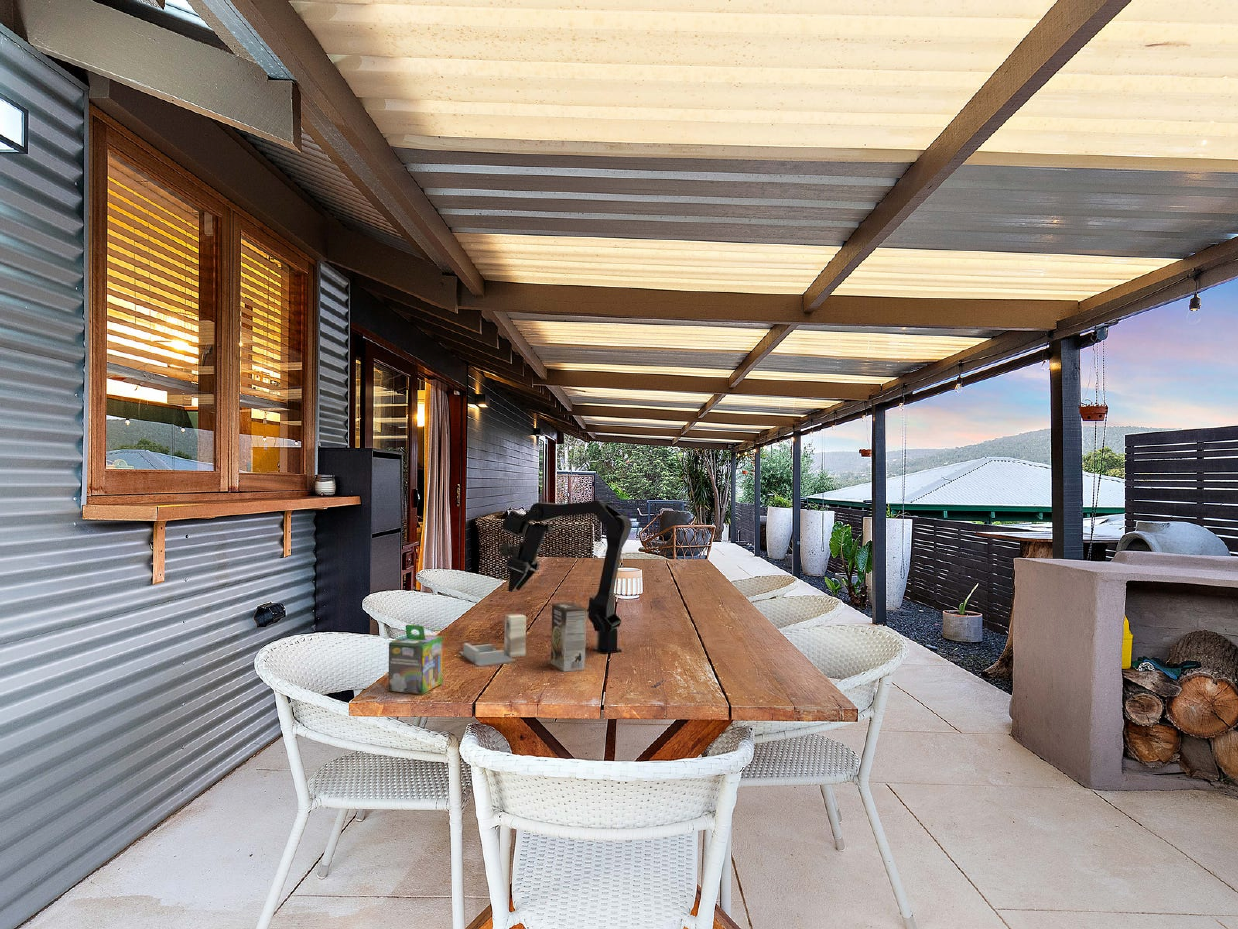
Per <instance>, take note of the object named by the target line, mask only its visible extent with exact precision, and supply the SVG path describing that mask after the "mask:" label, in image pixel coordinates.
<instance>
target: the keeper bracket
mask: <svg viewBox="0 0 1238 929" xmlns="http://www.w3.org/2000/svg"><path fill="white" fill-rule="evenodd" d="M462 650H463V651H459V654H460V655H461V656H463V657H464V658H465V659H467V660H469V661H470V662H471V663H473V664H474V665H476V666H477V667H479V668H482V667H489V666H496V665H498V666H499V665H505V664H511V663H516V660H515V659H513V657H511V658H510V657H509V656H507V655H505V654H504V650H503V649H501V650H498V649H496V648H494V643H493V644H492V643H487V644H480V645H479V644H478V645H472V644H470V643H469V642H464V643H463V649H462Z"/></svg>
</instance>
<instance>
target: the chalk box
mask: <svg viewBox="0 0 1238 929" xmlns="http://www.w3.org/2000/svg"><path fill="white" fill-rule="evenodd" d="M424 628H425V627H424V626H423V625H420V624H419V625H417V624H415V625H414V624H406V625H405V632H406V635H405V636H401V637H399V638H396V639H394V640H392V641H389V643H388V692H394V693H395V692H396V693H404V694H410V695H418V696H422V695H424V694H425V693H427V692H429V691H431V690H433V689H434V688H437V687H438V686H440V685H442V684H443V636H442V635H434V634H425V629H424ZM413 630H416V631H417V632H418V634H413V633H412V631H413Z"/></svg>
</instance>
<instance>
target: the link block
mask: <svg viewBox="0 0 1238 929" xmlns="http://www.w3.org/2000/svg"><path fill="white" fill-rule="evenodd" d="M526 632H527V616H526V615H524V614H523V613H522V614H521V613H511V614H510V613H509V614H505V615H504V640H503V641H504V644H503V645H504V647H503V648H504V650H503V651H504V654H505V655H507V656H508V657H510V658H517V657H518V658H519V657H525V656H526V644H527V643H526V640H527V639H526V638H527V633H526Z"/></svg>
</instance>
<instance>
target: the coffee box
mask: <svg viewBox="0 0 1238 929" xmlns="http://www.w3.org/2000/svg"><path fill="white" fill-rule="evenodd" d="M586 637H587V608H586V607H584V606H581V605H579V604H576V603H574V602H557V603H552V604H551V638H550V639H551V642H550V644H551V645H550V646H551V648H550V649H551V650H550V664H551V665H553V666H554V667H556V668H558V669H559V670H561V671H562V672H564V673H565V672H574V671H575V672H576V671H583V670H585V669H586V641H587V640H586V639H587V638H586Z"/></svg>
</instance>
